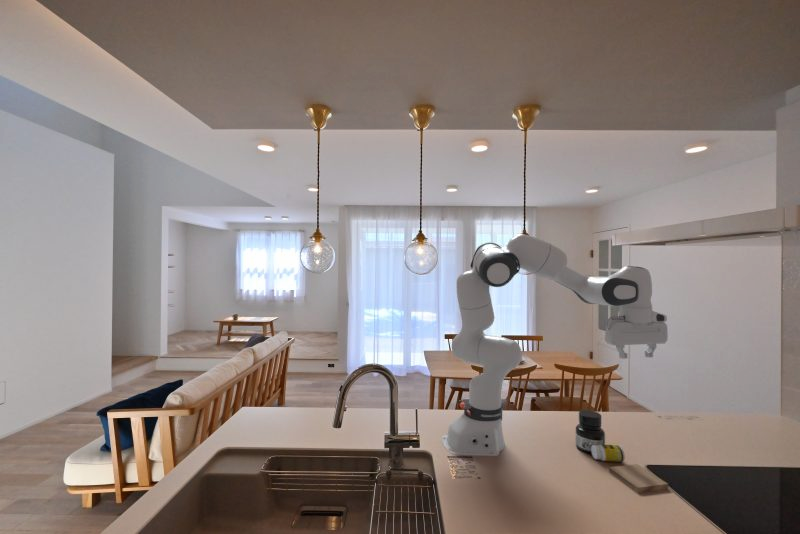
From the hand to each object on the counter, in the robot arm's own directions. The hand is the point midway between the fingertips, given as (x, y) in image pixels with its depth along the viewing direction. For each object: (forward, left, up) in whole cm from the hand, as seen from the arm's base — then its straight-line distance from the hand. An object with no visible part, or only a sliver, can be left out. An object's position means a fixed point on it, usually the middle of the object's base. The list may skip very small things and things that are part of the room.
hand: (636, 357), depth 111 cm
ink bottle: (-11, +8, -33) cm, 36 cm away
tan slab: (-10, -10, -33) cm, 36 cm away
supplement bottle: (-6, -1, -30) cm, 31 cm away
